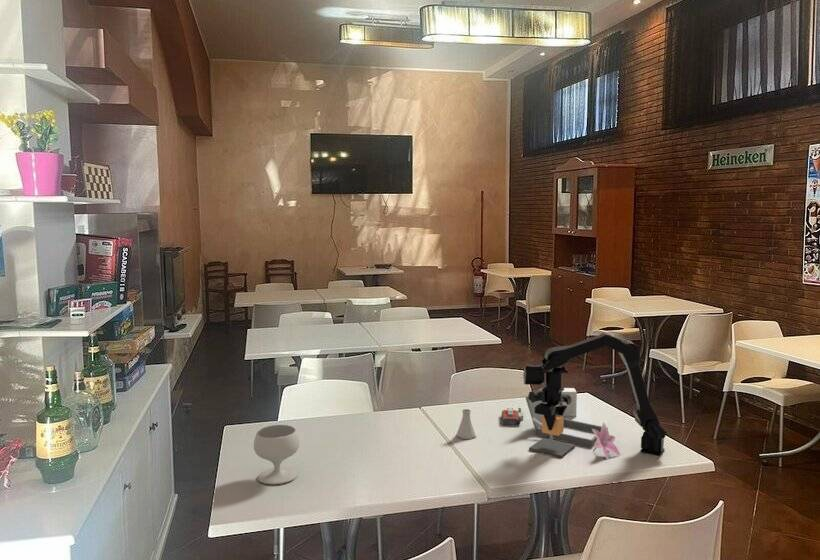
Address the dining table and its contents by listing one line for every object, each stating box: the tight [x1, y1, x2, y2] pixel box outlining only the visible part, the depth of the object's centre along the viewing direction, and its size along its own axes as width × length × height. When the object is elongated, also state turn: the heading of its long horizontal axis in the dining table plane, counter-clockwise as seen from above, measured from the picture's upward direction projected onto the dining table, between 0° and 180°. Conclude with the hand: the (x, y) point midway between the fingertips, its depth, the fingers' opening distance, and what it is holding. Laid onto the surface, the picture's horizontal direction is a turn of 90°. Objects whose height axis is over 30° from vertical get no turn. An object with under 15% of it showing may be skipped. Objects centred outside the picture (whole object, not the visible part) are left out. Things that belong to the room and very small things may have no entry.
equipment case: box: [525, 386, 609, 448], centre depth 227 cm, size 26×18×14 cm
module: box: [542, 414, 565, 436], centre depth 211 cm, size 6×4×6 cm
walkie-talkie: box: [501, 407, 524, 426], centre depth 245 cm, size 9×4×20 cm
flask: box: [456, 408, 477, 440], centre depth 225 cm, size 7×7×10 cm
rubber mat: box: [528, 437, 576, 459], centre depth 212 cm, size 12×12×1 cm
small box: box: [562, 387, 578, 417], centre depth 250 cm, size 8×6×10 cm
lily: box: [592, 422, 621, 460], centre depth 208 cm, size 12×12×10 cm
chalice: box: [253, 424, 300, 485], centre depth 189 cm, size 14×14×15 cm
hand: (552, 428), depth 212 cm, fingers closed on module, 4 cm apart
